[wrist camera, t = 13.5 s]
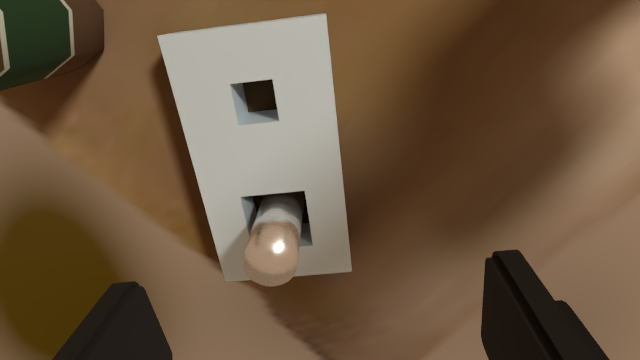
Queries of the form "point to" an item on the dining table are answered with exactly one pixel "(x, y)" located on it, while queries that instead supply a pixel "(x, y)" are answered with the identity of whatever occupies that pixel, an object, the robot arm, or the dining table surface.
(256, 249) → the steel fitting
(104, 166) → the dining table surface
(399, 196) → the dining table surface
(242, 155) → the manifold block
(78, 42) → the beer bottle
